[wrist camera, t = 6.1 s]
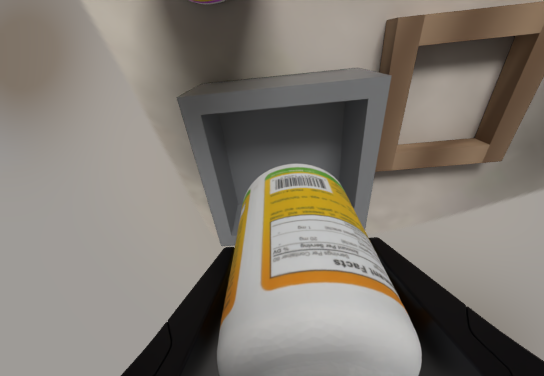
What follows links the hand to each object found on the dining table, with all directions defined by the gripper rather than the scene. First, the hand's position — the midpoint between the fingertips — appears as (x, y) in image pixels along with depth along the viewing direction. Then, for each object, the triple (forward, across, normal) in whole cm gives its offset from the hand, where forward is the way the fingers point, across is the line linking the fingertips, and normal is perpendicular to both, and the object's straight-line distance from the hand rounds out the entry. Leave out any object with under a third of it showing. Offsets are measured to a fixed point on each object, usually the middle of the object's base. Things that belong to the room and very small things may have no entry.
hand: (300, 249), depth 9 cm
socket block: (+11, -12, -3) cm, 16 cm away
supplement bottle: (+3, 0, 0) cm, 3 cm away
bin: (+11, 0, 0) cm, 11 cm away
